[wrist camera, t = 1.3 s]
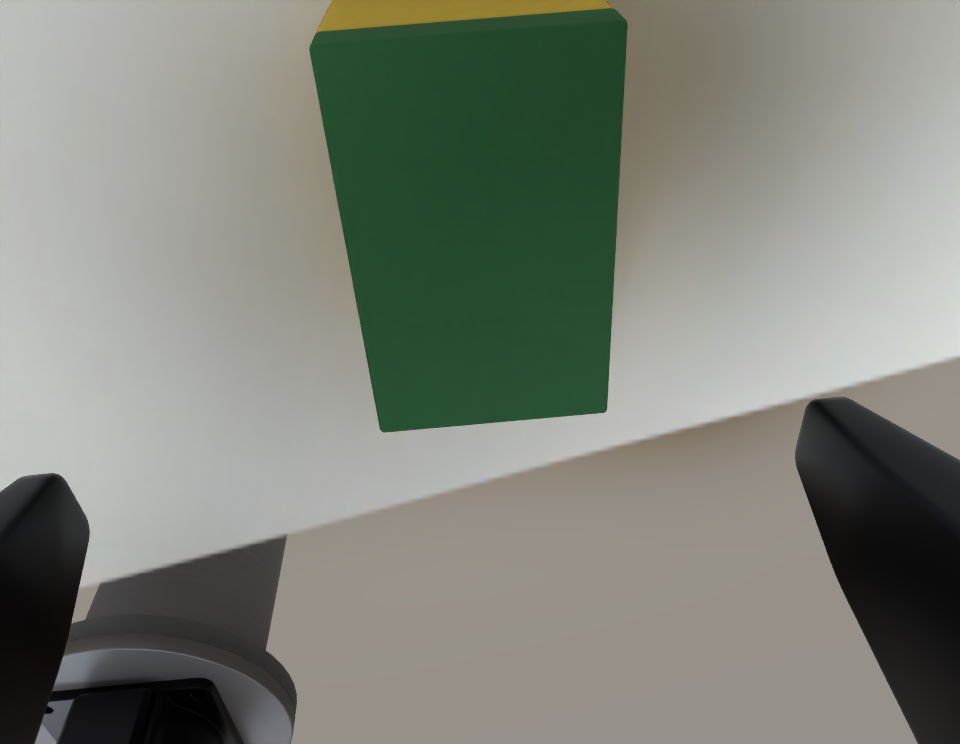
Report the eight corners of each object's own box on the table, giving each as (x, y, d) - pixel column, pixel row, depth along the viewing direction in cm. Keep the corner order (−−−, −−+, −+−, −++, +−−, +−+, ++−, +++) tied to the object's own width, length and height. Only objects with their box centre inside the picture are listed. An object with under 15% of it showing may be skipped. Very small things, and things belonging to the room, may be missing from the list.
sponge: (576, 316, 20) (607, 413, 16) (386, 333, 19) (380, 434, 16) (583, -23, 15) (629, 19, 12) (332, -4, 15) (307, 45, 12)
